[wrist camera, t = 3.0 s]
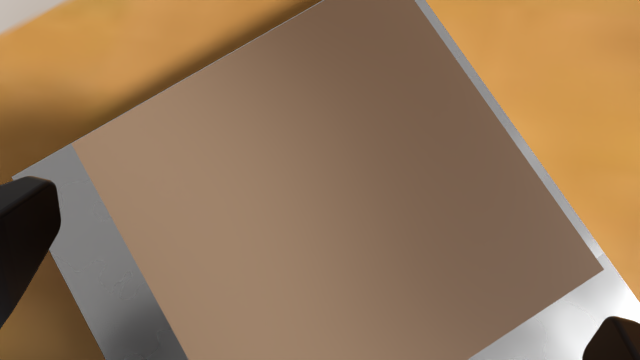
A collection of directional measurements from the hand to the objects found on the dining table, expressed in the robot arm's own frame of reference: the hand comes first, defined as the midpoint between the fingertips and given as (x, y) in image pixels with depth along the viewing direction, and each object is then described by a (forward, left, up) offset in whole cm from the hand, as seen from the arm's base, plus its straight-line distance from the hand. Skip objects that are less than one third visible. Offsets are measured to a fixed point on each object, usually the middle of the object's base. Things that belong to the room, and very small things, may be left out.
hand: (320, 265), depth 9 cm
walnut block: (0, 0, -8) cm, 8 cm away
